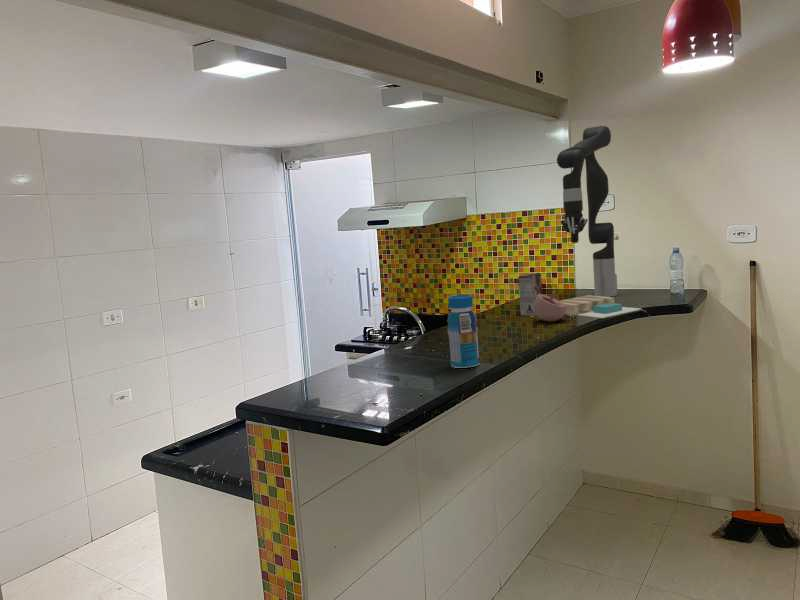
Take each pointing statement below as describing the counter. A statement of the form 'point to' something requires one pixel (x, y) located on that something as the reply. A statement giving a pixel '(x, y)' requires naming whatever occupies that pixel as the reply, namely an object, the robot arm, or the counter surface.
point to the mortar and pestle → (549, 307)
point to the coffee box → (529, 292)
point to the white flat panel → (600, 315)
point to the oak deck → (585, 304)
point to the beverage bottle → (462, 332)
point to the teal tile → (607, 308)
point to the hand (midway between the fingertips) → (574, 242)
